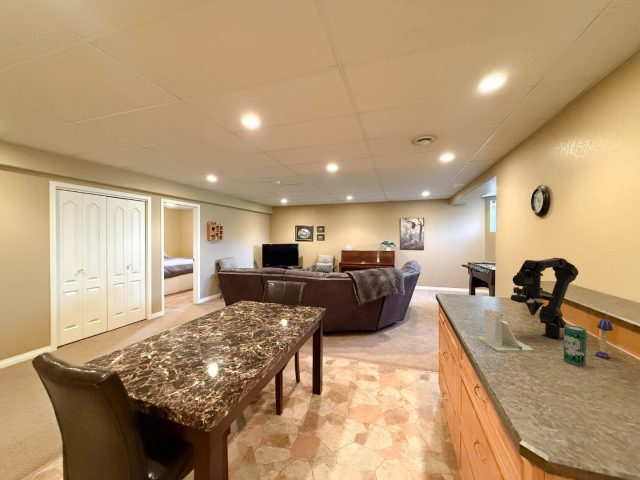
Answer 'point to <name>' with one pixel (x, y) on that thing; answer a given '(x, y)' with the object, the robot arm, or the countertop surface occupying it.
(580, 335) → the can
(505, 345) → the pale green base plate
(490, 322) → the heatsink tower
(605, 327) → the toy lamp
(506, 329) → the hinged cream panel
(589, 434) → the countertop surface
